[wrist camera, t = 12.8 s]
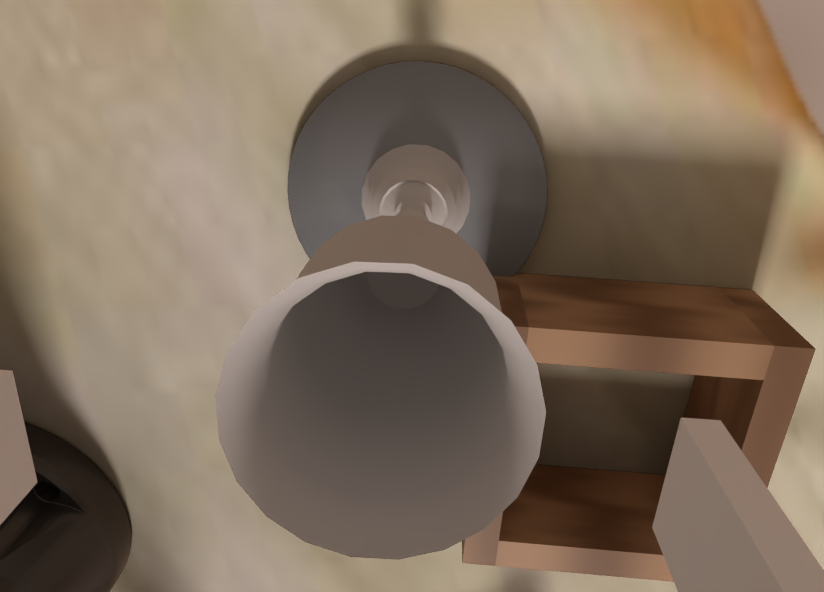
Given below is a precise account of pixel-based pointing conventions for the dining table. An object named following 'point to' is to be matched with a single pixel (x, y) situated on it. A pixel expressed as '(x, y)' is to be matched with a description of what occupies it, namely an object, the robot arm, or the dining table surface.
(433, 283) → the chalice
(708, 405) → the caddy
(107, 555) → the robot arm
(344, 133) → the coaster
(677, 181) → the dining table surface
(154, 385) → the dining table surface
